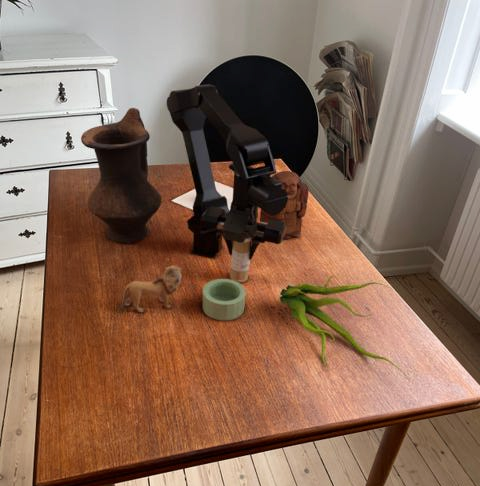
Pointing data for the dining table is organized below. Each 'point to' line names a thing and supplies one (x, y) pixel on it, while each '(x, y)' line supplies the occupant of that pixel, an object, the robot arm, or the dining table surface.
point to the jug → (122, 178)
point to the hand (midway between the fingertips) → (241, 256)
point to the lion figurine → (154, 288)
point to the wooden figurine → (290, 203)
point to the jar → (223, 299)
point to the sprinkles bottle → (240, 260)
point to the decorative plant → (310, 306)
